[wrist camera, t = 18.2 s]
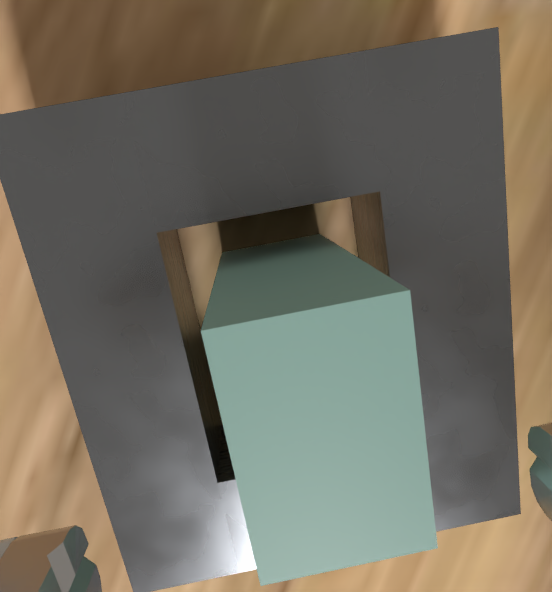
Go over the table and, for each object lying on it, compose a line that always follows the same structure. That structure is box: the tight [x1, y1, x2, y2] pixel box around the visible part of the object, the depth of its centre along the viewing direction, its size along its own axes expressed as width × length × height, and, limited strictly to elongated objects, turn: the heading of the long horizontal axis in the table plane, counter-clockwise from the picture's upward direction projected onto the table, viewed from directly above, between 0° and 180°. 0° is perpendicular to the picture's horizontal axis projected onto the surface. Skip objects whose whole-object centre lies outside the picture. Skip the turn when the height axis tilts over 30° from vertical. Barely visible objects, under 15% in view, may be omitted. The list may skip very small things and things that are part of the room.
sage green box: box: [201, 234, 438, 586], centre depth 14 cm, size 4×6×10 cm, turn 10°
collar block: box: [0, 27, 521, 592], centre depth 17 cm, size 15×17×4 cm
